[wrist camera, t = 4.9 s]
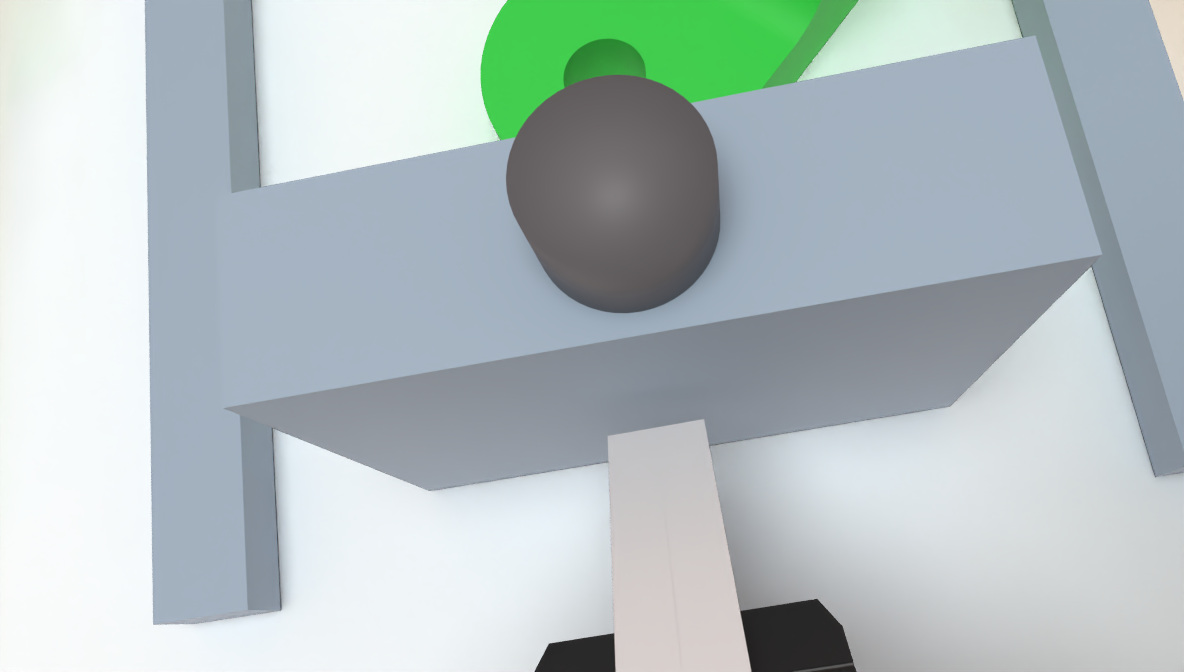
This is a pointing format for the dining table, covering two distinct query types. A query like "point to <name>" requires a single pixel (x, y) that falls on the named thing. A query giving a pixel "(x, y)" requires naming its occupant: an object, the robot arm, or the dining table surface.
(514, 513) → the dining table surface
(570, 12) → the mechanical part
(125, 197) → the dining table surface
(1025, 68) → the slide jaw
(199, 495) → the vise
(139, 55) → the dining table surface
